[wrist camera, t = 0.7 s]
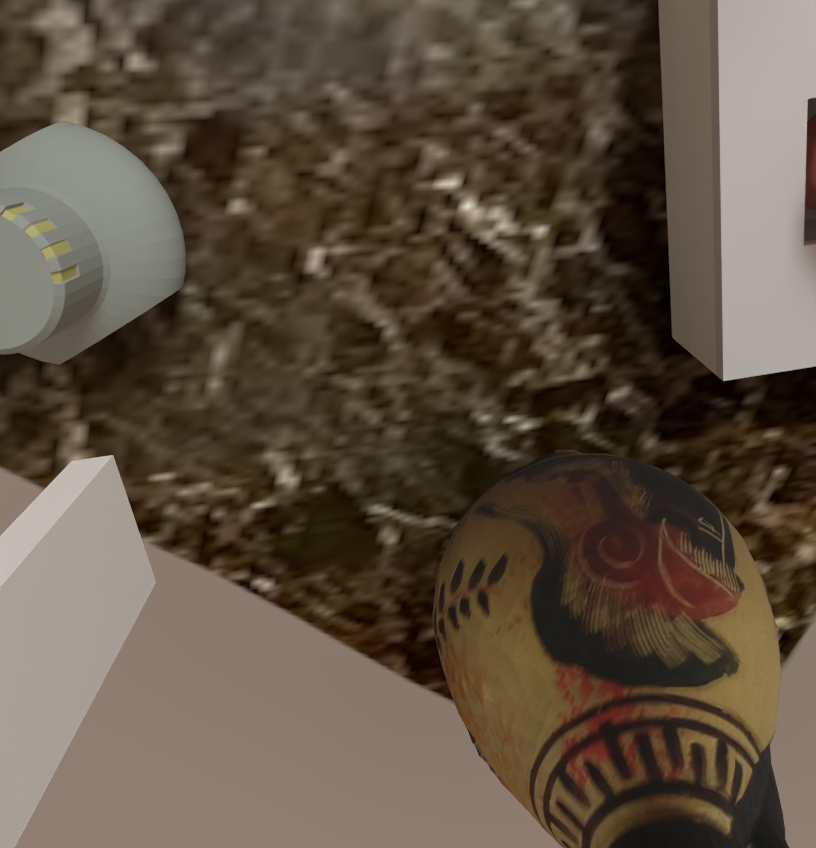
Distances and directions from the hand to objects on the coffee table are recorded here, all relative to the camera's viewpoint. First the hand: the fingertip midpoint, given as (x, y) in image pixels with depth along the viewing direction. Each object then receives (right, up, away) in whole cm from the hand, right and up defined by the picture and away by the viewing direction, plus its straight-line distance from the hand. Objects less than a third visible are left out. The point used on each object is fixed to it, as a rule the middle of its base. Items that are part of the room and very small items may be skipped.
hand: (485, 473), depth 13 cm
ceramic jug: (+8, -5, +30) cm, 31 cm away
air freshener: (-17, +10, +24) cm, 31 cm away
